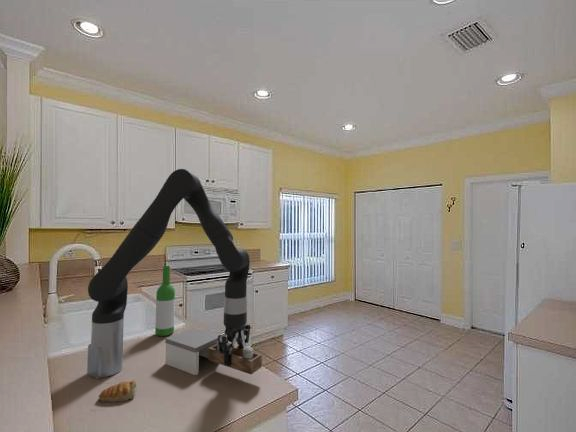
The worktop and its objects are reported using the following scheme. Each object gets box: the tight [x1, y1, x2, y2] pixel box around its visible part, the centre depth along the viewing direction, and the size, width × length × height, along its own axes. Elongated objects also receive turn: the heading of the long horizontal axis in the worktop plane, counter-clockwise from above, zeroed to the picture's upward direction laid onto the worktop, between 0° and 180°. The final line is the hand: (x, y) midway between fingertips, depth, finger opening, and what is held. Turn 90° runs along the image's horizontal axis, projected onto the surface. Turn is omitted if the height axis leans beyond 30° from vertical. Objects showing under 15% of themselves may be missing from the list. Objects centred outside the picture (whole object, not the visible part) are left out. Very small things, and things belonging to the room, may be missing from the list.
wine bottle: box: [154, 265, 176, 337], centre depth 135 cm, size 8×8×30 cm
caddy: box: [207, 341, 263, 375], centre depth 99 cm, size 18×6×6 cm, turn 60°
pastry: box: [98, 379, 138, 403], centre depth 87 cm, size 9×7×4 cm
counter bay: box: [164, 327, 220, 376], centre depth 108 cm, size 13×15×9 cm
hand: (234, 361), depth 99 cm, fingers closed on caddy, 5 cm apart
